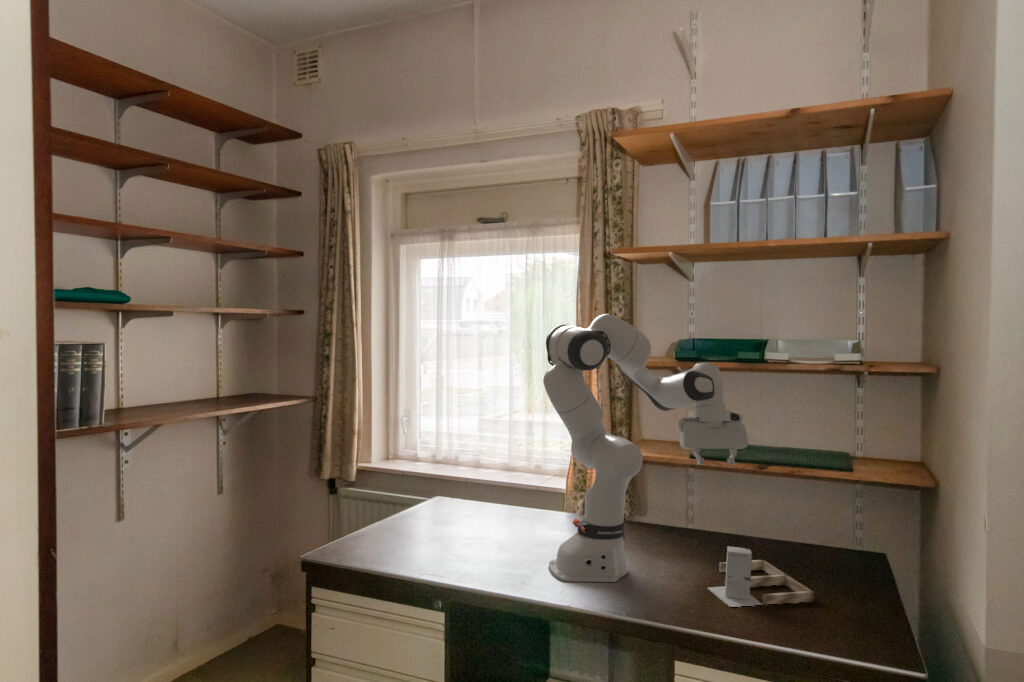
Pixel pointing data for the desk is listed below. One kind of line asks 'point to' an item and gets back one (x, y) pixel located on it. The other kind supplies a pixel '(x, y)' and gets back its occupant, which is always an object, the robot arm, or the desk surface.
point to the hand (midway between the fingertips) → (716, 464)
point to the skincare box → (738, 573)
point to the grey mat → (733, 601)
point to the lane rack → (776, 579)
